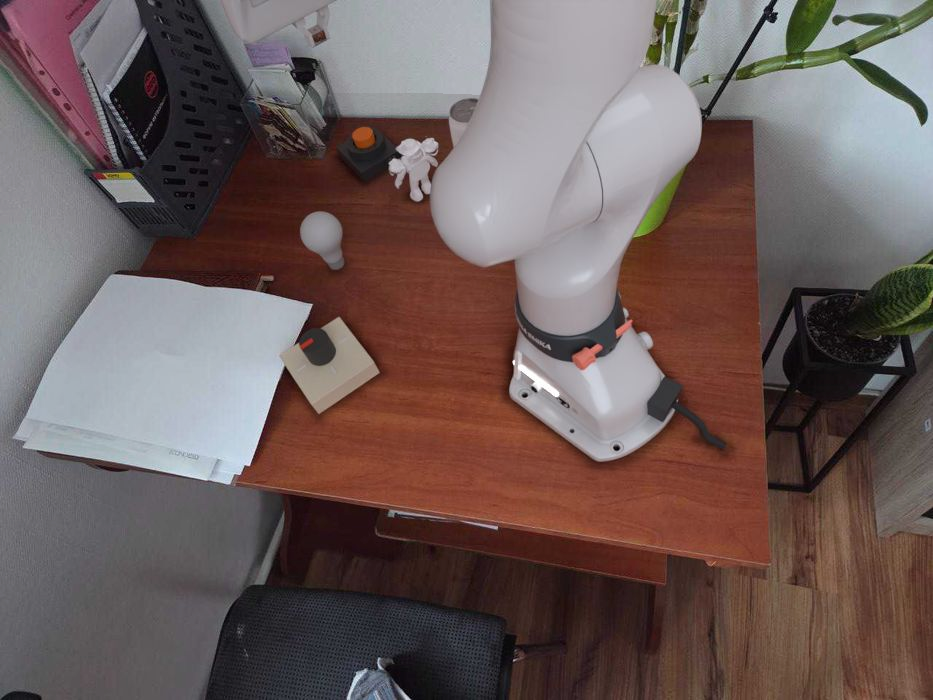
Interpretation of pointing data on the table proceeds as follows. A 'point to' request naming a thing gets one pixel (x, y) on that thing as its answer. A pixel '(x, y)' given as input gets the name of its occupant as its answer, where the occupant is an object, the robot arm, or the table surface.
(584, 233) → the robot arm
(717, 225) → the table surface
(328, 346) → the timer knob
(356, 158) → the black button housing
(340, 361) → the timer panel
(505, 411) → the table surface
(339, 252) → the lightbulb
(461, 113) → the can
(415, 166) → the white figurine
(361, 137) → the power button
